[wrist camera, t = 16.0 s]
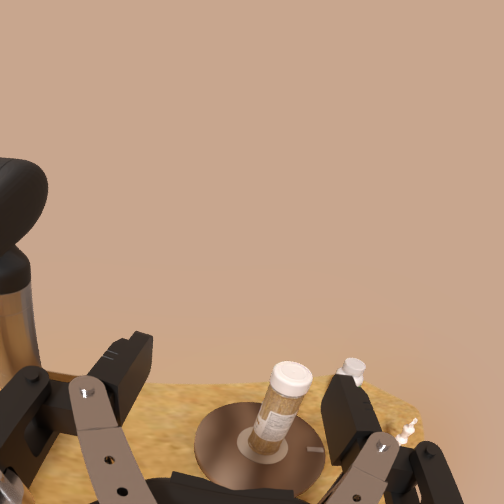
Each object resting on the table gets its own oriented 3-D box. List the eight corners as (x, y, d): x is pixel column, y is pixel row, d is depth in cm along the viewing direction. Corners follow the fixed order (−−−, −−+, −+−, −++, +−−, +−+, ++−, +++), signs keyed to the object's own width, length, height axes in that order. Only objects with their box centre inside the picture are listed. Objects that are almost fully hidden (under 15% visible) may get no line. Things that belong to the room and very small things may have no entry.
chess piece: (366, 457, 35) (395, 415, 33) (383, 446, 37) (412, 405, 35) (385, 475, 31) (419, 434, 29) (402, 463, 33) (434, 422, 31)
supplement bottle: (342, 416, 45) (364, 376, 43) (318, 403, 48) (337, 362, 46) (352, 403, 49) (372, 363, 47) (330, 391, 52) (347, 352, 50)
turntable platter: (182, 489, 25) (183, 483, 24) (205, 398, 42) (206, 391, 42) (329, 504, 25) (334, 498, 24) (313, 416, 42) (317, 409, 42)
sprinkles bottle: (250, 429, 35) (276, 355, 32) (281, 437, 35) (313, 364, 32) (243, 452, 31) (271, 377, 28) (278, 460, 31) (314, 388, 27)
